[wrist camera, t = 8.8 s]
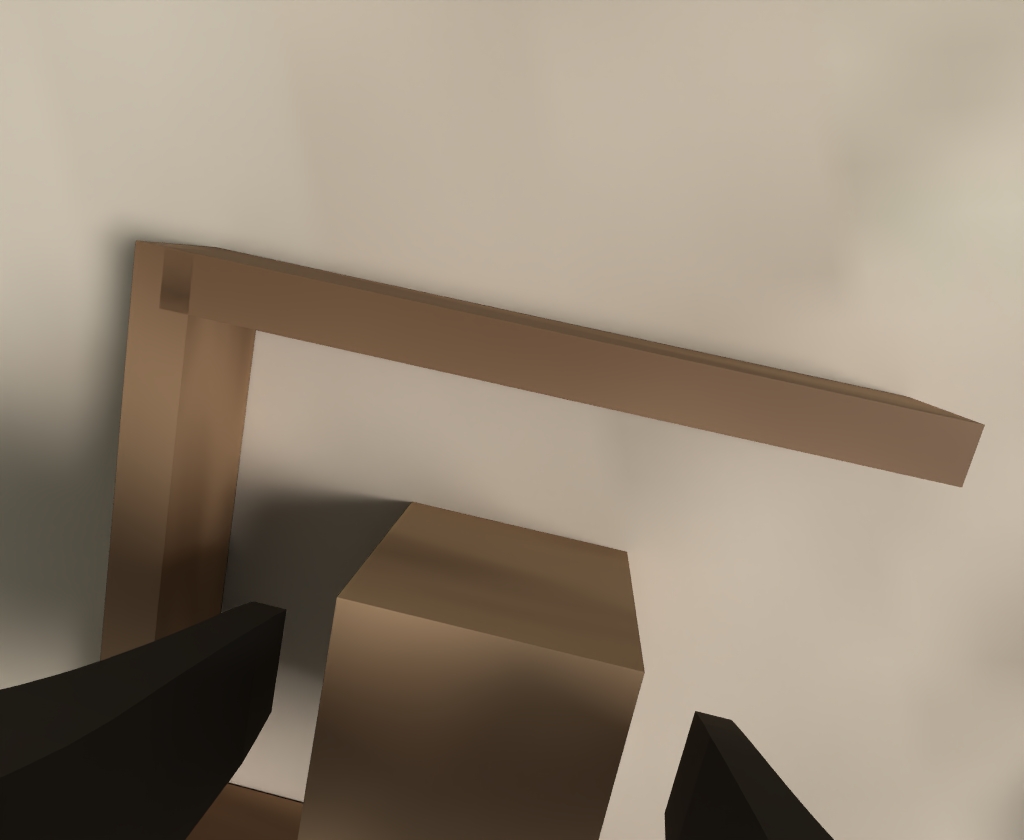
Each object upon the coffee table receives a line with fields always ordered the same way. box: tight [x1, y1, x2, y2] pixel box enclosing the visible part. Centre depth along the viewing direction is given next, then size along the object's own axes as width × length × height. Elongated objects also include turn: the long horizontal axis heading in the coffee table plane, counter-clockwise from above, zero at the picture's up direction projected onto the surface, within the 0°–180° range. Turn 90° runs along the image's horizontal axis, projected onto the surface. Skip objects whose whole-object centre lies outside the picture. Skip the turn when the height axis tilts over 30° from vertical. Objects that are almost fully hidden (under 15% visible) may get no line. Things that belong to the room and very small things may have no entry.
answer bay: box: [100, 241, 985, 840], centre depth 13 cm, size 13×14×2 cm
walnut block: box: [298, 502, 645, 840], centre depth 13 cm, size 4×4×4 cm
